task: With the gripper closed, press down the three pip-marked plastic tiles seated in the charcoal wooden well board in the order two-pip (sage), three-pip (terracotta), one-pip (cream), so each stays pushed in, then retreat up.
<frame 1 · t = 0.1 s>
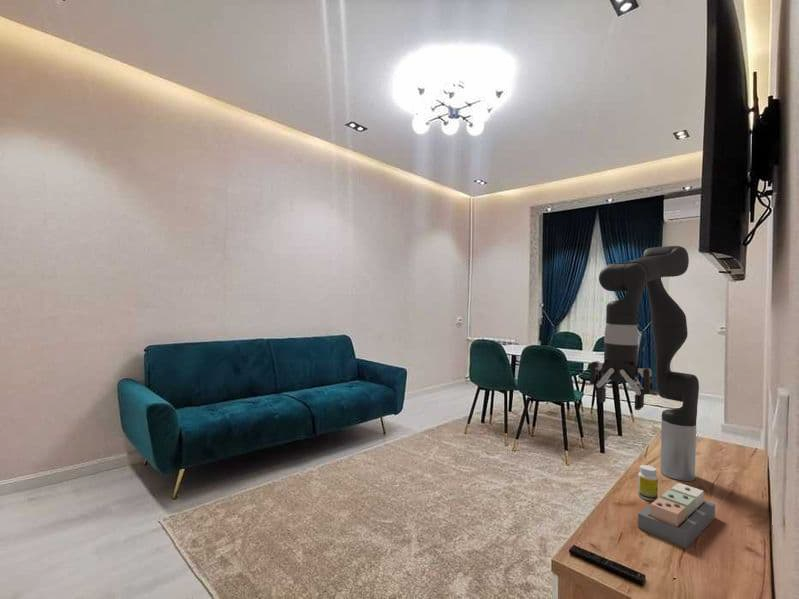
hand: (619, 405, 100), 29 cm above the table, fingers open, 8 cm apart
well board: (677, 522, 100), on the table
tile two: (678, 502, 100), point 5 cm above the table, slide at 0.0 cm
tile one: (687, 494, 104), point 5 cm above the table, slide at 0.0 cm
tile three: (667, 511, 96), point 5 cm above the table, slide at 0.0 cm
supplement bottle: (647, 497, 113), on the table
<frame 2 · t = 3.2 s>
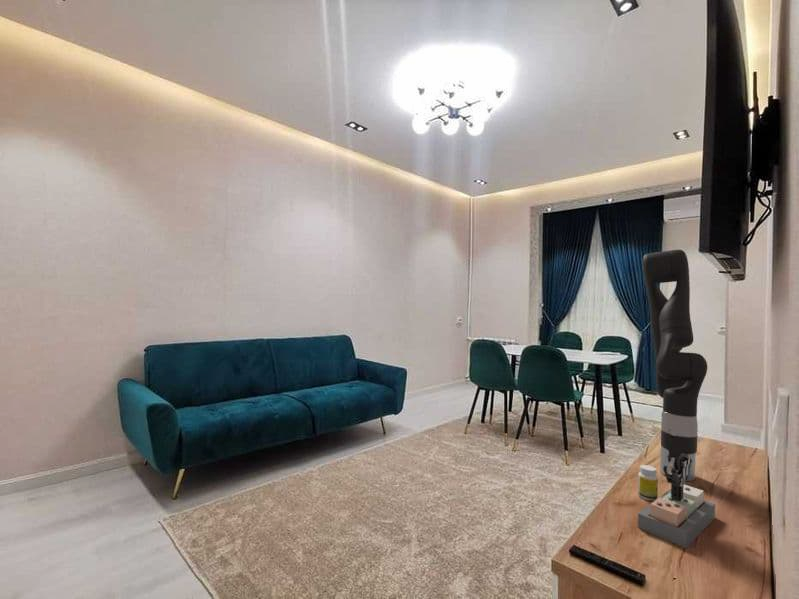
hand: (676, 499, 100), 6 cm above the table, fingers closed
tile two: (677, 505, 100), point 4 cm above the table, slide at -0.8 cm, touching gripper
everything else where it was.
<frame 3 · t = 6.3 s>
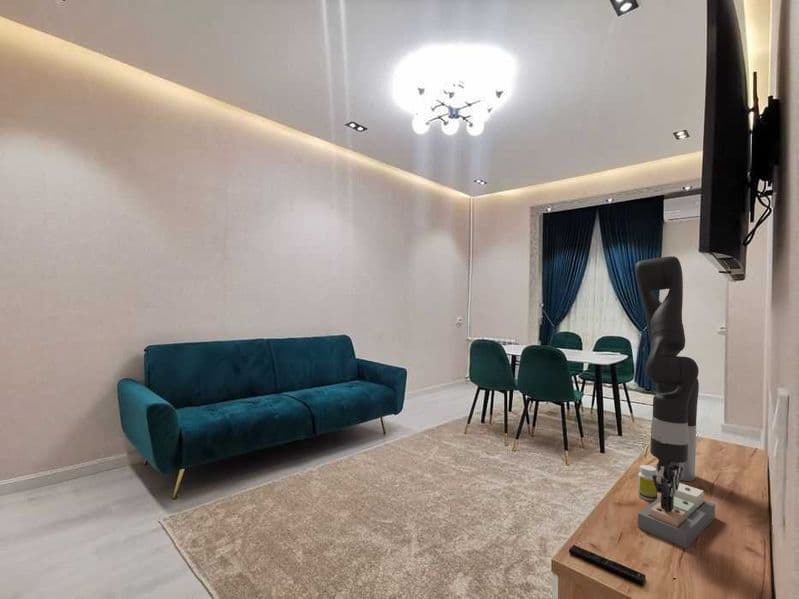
hand: (667, 509, 96), 5 cm above the table, fingers closed
tile two: (677, 507, 100), point 4 cm above the table, slide at -1.4 cm
tile three: (667, 516, 96), point 4 cm above the table, slide at -1.3 cm, touching gripper
everything else where it was.
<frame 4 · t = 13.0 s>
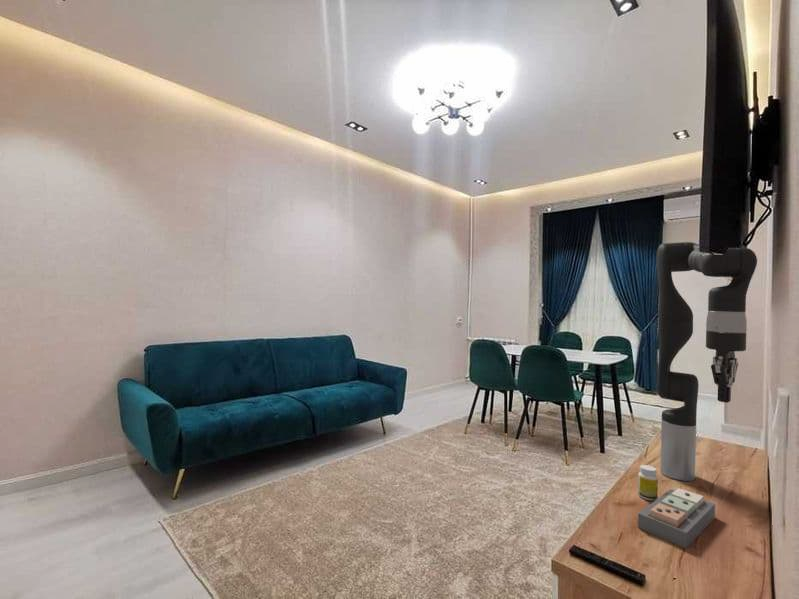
hand: (723, 401, 95), 32 cm above the table, fingers closed
tile one: (687, 500, 104), point 4 cm above the table, slide at -1.4 cm
tile three: (667, 516, 96), point 4 cm above the table, slide at -1.4 cm
everything else where it was.
at the end: tile two slide at -1.4 cm; tile three slide at -1.4 cm; tile one slide at -1.4 cm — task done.
